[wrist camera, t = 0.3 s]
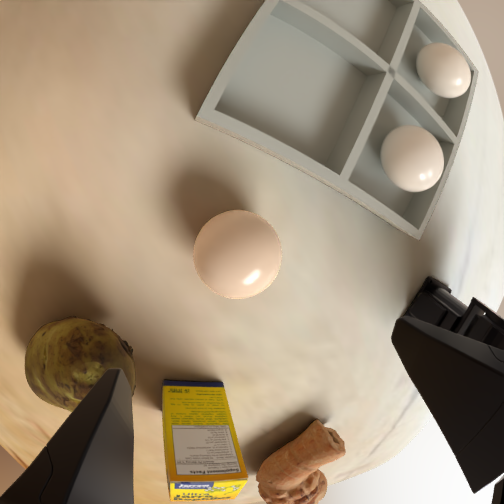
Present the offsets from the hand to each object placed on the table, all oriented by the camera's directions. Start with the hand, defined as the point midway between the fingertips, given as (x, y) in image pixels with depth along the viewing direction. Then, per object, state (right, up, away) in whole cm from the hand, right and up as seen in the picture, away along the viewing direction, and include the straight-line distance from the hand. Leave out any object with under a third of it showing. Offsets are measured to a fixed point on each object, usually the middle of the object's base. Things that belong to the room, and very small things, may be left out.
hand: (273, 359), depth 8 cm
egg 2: (+14, +19, +9) cm, 25 cm away
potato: (-16, -4, +12) cm, 20 cm away
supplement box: (-7, -12, +17) cm, 22 cm away
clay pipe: (+6, -28, +28) cm, 40 cm away
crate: (+8, +17, +9) cm, 21 cm away
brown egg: (-2, +4, +12) cm, 13 cm away
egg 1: (+10, +11, +11) cm, 19 cm away
